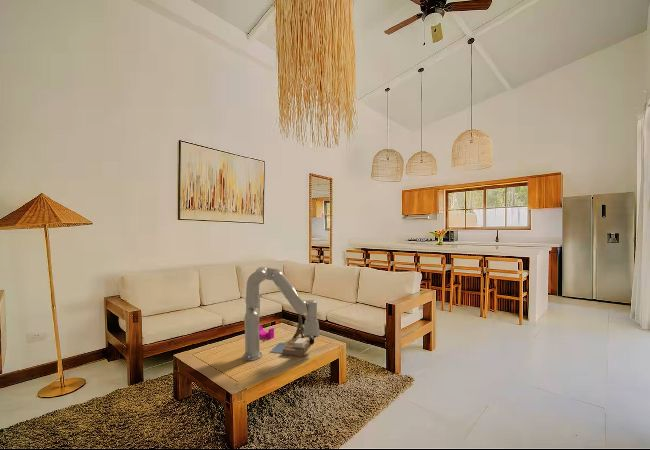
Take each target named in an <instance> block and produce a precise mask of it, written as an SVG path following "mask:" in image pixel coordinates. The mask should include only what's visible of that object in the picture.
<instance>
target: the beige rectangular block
mask: <svg viewBox="0 0 650 450" xmlns="http://www.w3.org/2000/svg"><path fill="white" fill-rule="evenodd" d="M296 339H297V340H296V341H295V343H294V347H299V348H303V347H304V346H305V344H306V343H307V340H308V338H306V337H304V338H301V337H298V338H296Z"/></svg>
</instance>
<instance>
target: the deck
mask: <svg viewBox="0 0 650 450" xmlns="http://www.w3.org/2000/svg"><path fill="white" fill-rule="evenodd" d="M292 338H293V337H292ZM292 338H291V339H290V341H289V342H288V343H286V344H287V345H286V346H285V347H284V348H283V354H282V356H284V357H285V356H287V357H295V358H303V357H304V356H305V354H306V353H307V352H308V350H309V349H310V348H311V346H312V345H310V343H309V339H307V343H306V344H305V346H304V347H303V348H299V347H294V343H295V341H296V340H297V339H298V338H296V339H295V338H293V339H292Z"/></svg>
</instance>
